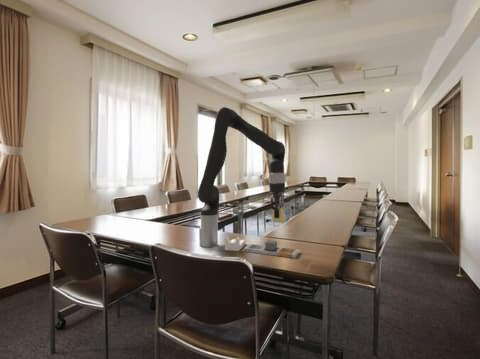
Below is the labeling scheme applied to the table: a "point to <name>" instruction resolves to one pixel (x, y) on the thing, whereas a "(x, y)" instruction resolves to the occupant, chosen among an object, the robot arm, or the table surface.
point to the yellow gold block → (281, 215)
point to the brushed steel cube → (271, 245)
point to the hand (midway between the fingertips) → (278, 217)
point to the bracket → (234, 244)
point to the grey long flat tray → (280, 251)
